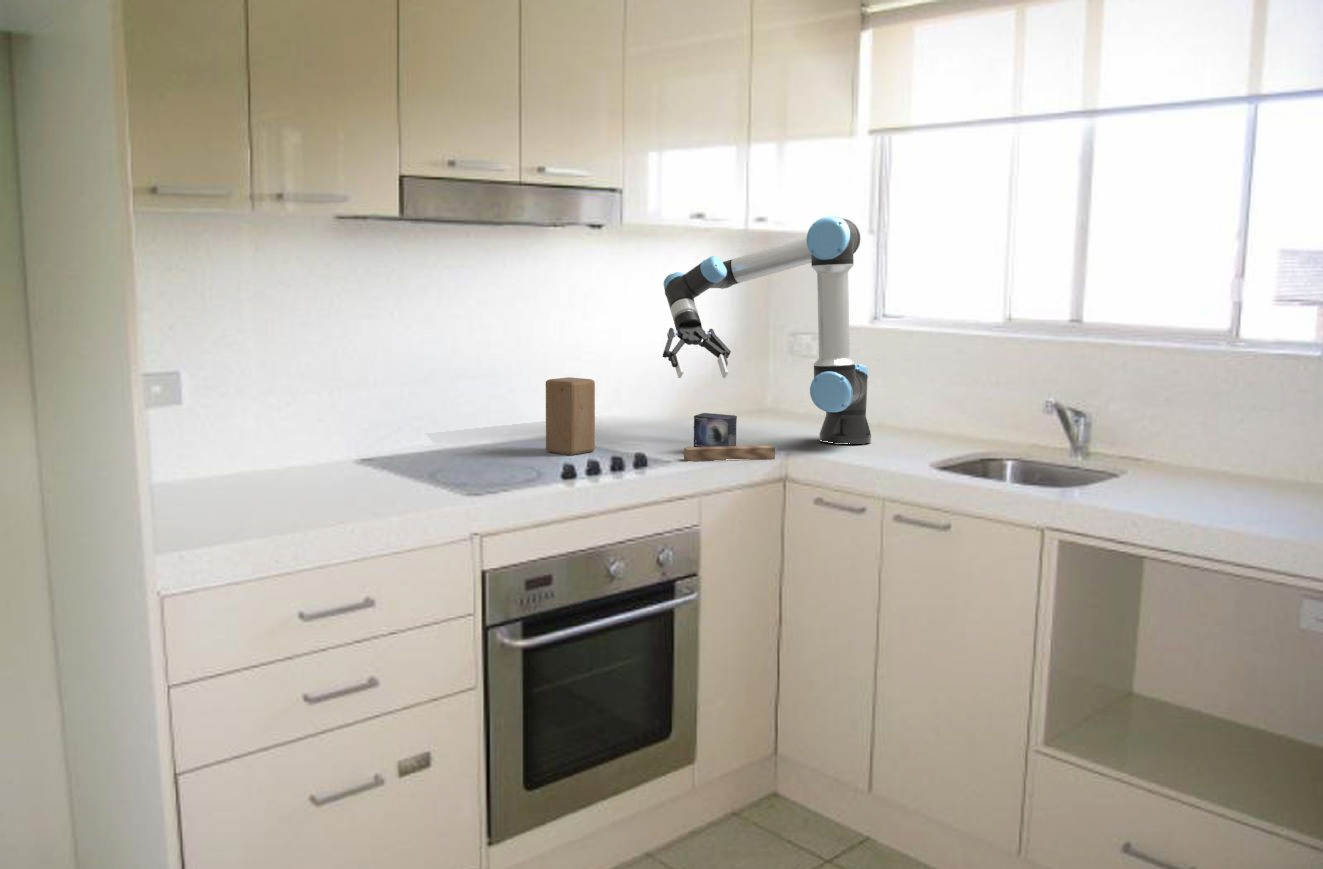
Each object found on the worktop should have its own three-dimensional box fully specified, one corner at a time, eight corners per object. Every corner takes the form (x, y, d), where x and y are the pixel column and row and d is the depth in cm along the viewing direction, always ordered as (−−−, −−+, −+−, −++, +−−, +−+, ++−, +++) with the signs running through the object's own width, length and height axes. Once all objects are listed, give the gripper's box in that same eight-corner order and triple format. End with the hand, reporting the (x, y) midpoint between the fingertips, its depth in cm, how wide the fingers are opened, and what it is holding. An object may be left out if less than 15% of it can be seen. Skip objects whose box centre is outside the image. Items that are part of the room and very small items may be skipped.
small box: (692, 452, 303) (692, 415, 302) (702, 449, 309) (702, 412, 308) (727, 456, 298) (727, 417, 297) (736, 452, 304) (737, 415, 303)
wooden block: (571, 456, 295) (571, 381, 292) (544, 452, 301) (544, 379, 298) (596, 451, 303) (596, 379, 300) (569, 448, 309) (568, 376, 306)
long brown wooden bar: (770, 458, 298) (770, 445, 298) (774, 460, 294) (775, 447, 294) (683, 460, 293) (684, 447, 292) (687, 462, 289) (687, 449, 288)
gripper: (721, 327, 329) (739, 383, 318) (642, 326, 321) (658, 383, 309) (729, 310, 324) (748, 366, 312) (649, 308, 315) (665, 366, 303)
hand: (703, 375), depth 311 cm, fingers open, 13 cm apart
